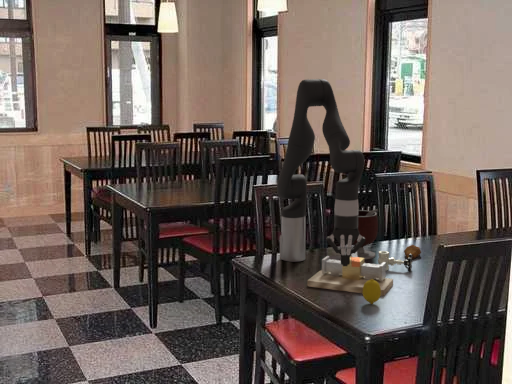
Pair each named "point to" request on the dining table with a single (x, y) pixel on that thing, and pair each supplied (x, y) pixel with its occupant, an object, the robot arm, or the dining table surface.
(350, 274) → the pipe valve
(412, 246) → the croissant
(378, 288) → the lemon
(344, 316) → the dining table surface
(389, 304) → the dining table surface
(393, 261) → the valve
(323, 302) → the dining table surface
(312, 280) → the valve board
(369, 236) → the mate gourd
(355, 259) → the valve lever
